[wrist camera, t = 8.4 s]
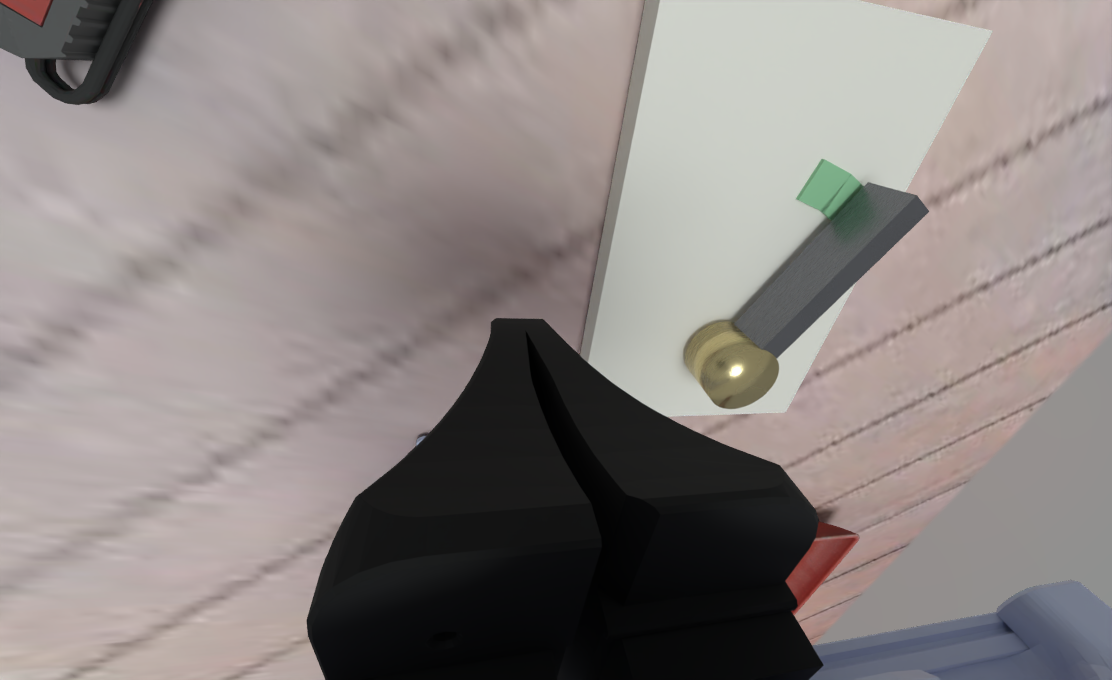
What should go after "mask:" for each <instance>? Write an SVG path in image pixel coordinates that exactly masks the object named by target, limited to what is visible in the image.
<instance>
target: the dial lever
mask: <svg viewBox="0 0 1112 680" xmlns="http://www.w3.org/2000/svg"><path fill="white" fill-rule="evenodd" d="M928 212H929V211H928V209H927V208H926V207H925V205H924V204H923V203H922V202H921V200H920V199H919V198H918V196H917V195H914V194H910V193H906V192H903V191H899V190H895V189H892V188H888V187H884V186H880V185H877V184H873V183H869V182H868V183H867V184H866V185H865V186H864V187H863V188H862V189H861V190H860V191H859V192H858V193H857V194H856V195H855V197H854V198H853V199H852V200H851V201H850V202H849V203H848V204H847V205H846V206H845V207H844V208H843V209H842V210H841V211H840V212H839V213H838V214H837V216H836V217H835V218H834V219H833V220H832V221H831V222H830V223H829V224H828V225H827V226H826V227H825V228H824V229H823V230H822V231H821V232H820V234H819V235H818V236H817V237H816V238H815V239H814V240H813V241H812V242H811V243H810V244H809V245H808V246H807V247H806V248H805V249H804V250H803V251H802V253H801V254H800V255H799V256H798V257H797V258H796V259H795V260H794V261H793V262H792V263H791V264H790V265H789V266H788V267H787V268H786V269H785V270H784V272H783V273H782V274H781V275H780V276H779V277H778V278H777V279H776V280H775V281H774V282H773V283H772V284H771V285H770V286H769V287H768V288H767V290H766V291H765V292H764V293H763V294H762V295H761V296H760V297H759V298H758V299H757V300H756V301H755V302H754V303H753V304H752V305H751V306H750V307H749V309H748V310H747V311H746V312H745V313H744V314H743V315H742V316H741V317H740V318H739V319H738V320H737V321H736V322H727V321H726V322H719V323H715V324H712V325H710V326H708V327H706V328H705V329H703V330H702V331H700V332H699V333H698V334H697V335H696V336H695V337H694V338H693V339H692V341H691V342H690V344H689V345H688V347H687V350H686V353H685V364H686V366H687V368H688V370H689V371H690V372H691V374H692V375H693V376H694V378H695V379H696V380H697V382H698V383H699V384H700V386H701V387H702V388H703V390H704V391H705V392H706V394H707V395H708V396H709V398H710V399H711V400H712V402H713V403H714V404H715V405H717V406H718V407H721V408H724V409H737V408H742V407H745V406H747V405H750V404H752V403H754V402H755V401H757V400H759V399H760V398H761V397H763V396H764V395H765V394H766V393H767V392H768V391H769V390H770V389H771V388H772V386H773V385H774V383H775V381H776V379H777V377H778V373H779V363H778V361H777V358H778V357H779V356H780V355H781V354H782V353H783V352H784V351H785V350H786V349H787V348H788V347H789V346H790V345H792V344H793V343H794V342H795V341H796V340H797V339H798V338H799V337H800V336H801V335H802V334H803V333H804V332H805V331H806V330H807V329H808V328H809V327H810V326H811V325H812V324H813V323H814V322H815V321H816V320H817V319H818V318H820V317H821V316H822V315H823V314H824V313H825V312H826V311H827V310H828V309H829V308H830V307H831V306H832V305H833V304H834V303H835V302H836V301H837V300H838V299H839V298H840V297H841V296H842V295H843V294H844V293H845V292H846V291H847V290H849V289H850V288H851V287H852V286H853V285H854V284H855V283H856V282H857V281H858V280H859V279H860V278H861V277H862V276H863V275H864V274H865V273H866V272H867V271H868V270H869V269H870V268H871V267H872V266H873V265H874V264H875V263H876V262H878V261H879V260H880V259H881V258H882V257H883V256H884V255H885V254H886V253H887V252H888V251H889V250H890V249H891V248H892V247H893V246H894V245H895V244H896V243H897V242H898V241H899V240H900V239H901V238H902V237H903V236H904V235H906V234H907V233H908V232H909V231H910V230H911V229H912V228H913V227H914V226H915V225H916V224H917V223H918V222H919V221H920V220H921V219H922V218H923V217H924V216H925V215H926V214H927V213H928Z"/></svg>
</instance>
